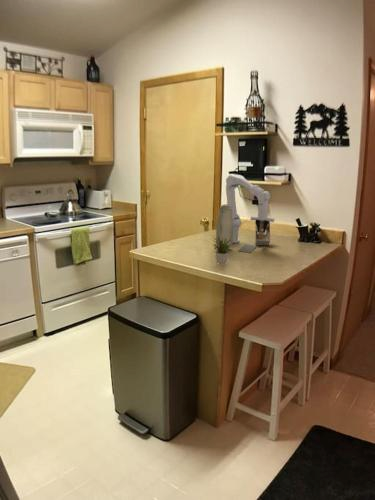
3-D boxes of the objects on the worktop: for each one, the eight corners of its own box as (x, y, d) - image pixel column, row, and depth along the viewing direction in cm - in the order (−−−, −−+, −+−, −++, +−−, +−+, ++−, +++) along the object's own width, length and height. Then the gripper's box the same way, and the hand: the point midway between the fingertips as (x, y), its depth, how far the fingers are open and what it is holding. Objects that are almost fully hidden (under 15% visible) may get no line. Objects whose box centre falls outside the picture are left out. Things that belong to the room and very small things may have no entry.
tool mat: (237, 251, 246) (237, 250, 246) (245, 244, 263) (245, 244, 263) (250, 252, 243) (250, 252, 243) (257, 246, 260) (257, 245, 260)
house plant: (202, 264, 217) (203, 234, 213) (211, 258, 229) (212, 230, 225) (227, 268, 211) (228, 237, 207) (235, 261, 223) (236, 232, 219)
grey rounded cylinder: (218, 247, 255) (219, 203, 248) (233, 248, 252) (236, 204, 245) (213, 250, 246) (215, 205, 239) (230, 252, 243) (232, 206, 236)
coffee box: (268, 245, 263) (268, 223, 269) (270, 241, 257) (270, 218, 263) (254, 244, 264) (255, 222, 270) (255, 240, 258) (256, 218, 264)
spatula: (264, 239, 246) (264, 234, 245) (256, 238, 247) (256, 233, 246) (266, 231, 258) (266, 226, 257) (258, 231, 260) (258, 226, 258)
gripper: (249, 210, 248) (248, 232, 251) (273, 212, 243) (271, 234, 246) (252, 209, 254) (251, 230, 258) (275, 211, 249) (273, 232, 252)
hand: (261, 232), depth 252 cm, fingers closed on spatula, 3 cm apart
